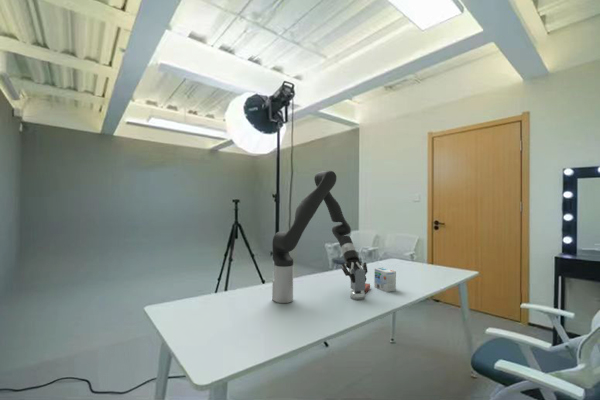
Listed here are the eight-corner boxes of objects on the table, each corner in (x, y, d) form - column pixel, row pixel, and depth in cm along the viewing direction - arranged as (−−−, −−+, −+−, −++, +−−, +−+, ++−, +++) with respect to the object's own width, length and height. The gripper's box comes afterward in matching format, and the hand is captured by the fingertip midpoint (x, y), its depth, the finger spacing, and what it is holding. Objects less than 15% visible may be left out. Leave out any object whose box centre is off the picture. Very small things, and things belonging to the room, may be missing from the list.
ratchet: (362, 301, 138) (362, 286, 138) (348, 298, 142) (349, 284, 142) (373, 288, 159) (373, 276, 159) (361, 287, 162) (361, 274, 162)
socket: (355, 291, 140) (355, 270, 140) (350, 287, 145) (350, 268, 145) (365, 290, 141) (365, 270, 141) (360, 287, 146) (360, 267, 147)
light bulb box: (373, 286, 163) (374, 268, 163) (383, 285, 166) (383, 267, 166) (386, 292, 153) (387, 272, 153) (396, 290, 156) (396, 271, 156)
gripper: (339, 249, 149) (348, 278, 137) (364, 249, 152) (375, 277, 141) (335, 258, 154) (343, 286, 142) (359, 257, 158) (369, 284, 146)
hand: (359, 281), depth 141 cm, fingers closed on socket, 5 cm apart
